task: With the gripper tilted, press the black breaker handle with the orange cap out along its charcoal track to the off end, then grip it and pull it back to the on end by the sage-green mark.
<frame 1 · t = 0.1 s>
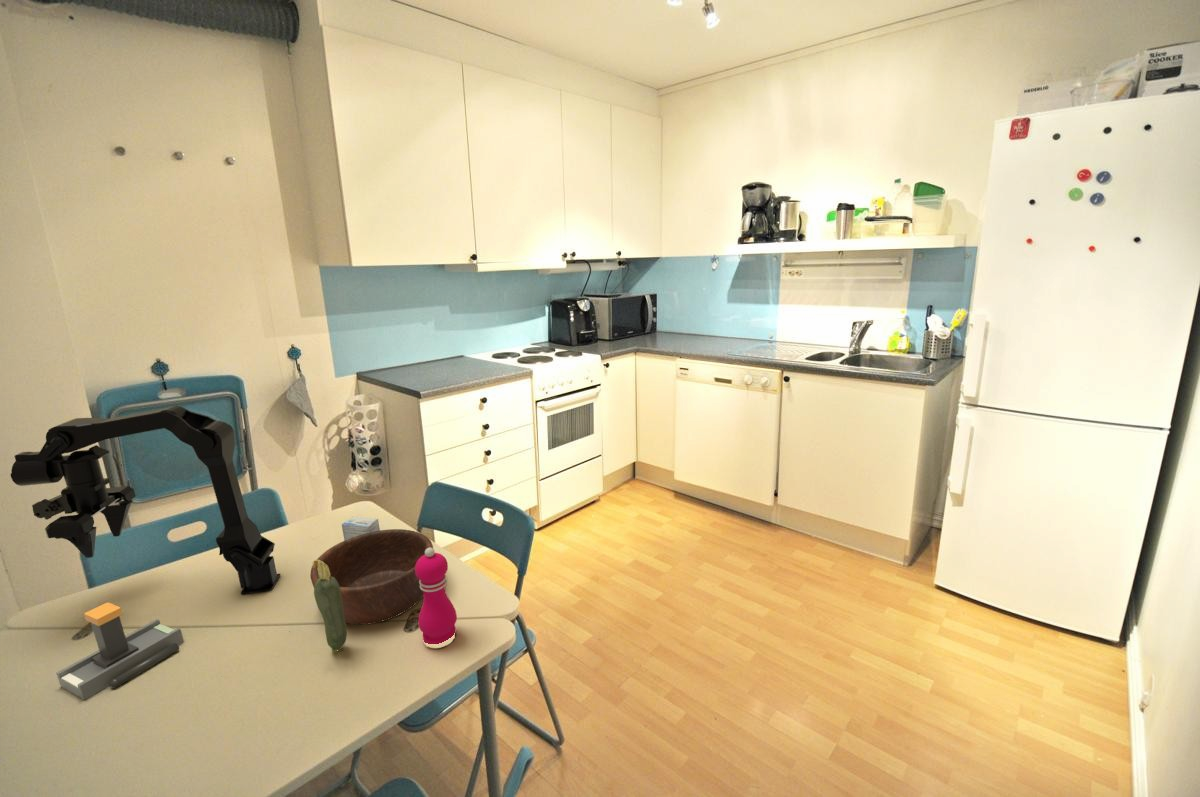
hand: (104, 546, 117), 15 cm above the table, tool pointing down, fingers open, 9 cm apart
vegetable: (338, 653, 104), on the table
pepper mill: (440, 639, 107), on the table
medicine box: (364, 551, 141), on the table
breaker handle: (109, 633, 100), point 7 cm above the table, slide at 0.0 cm
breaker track: (125, 663, 103), on the table
wooden bowl: (379, 597, 122), on the table
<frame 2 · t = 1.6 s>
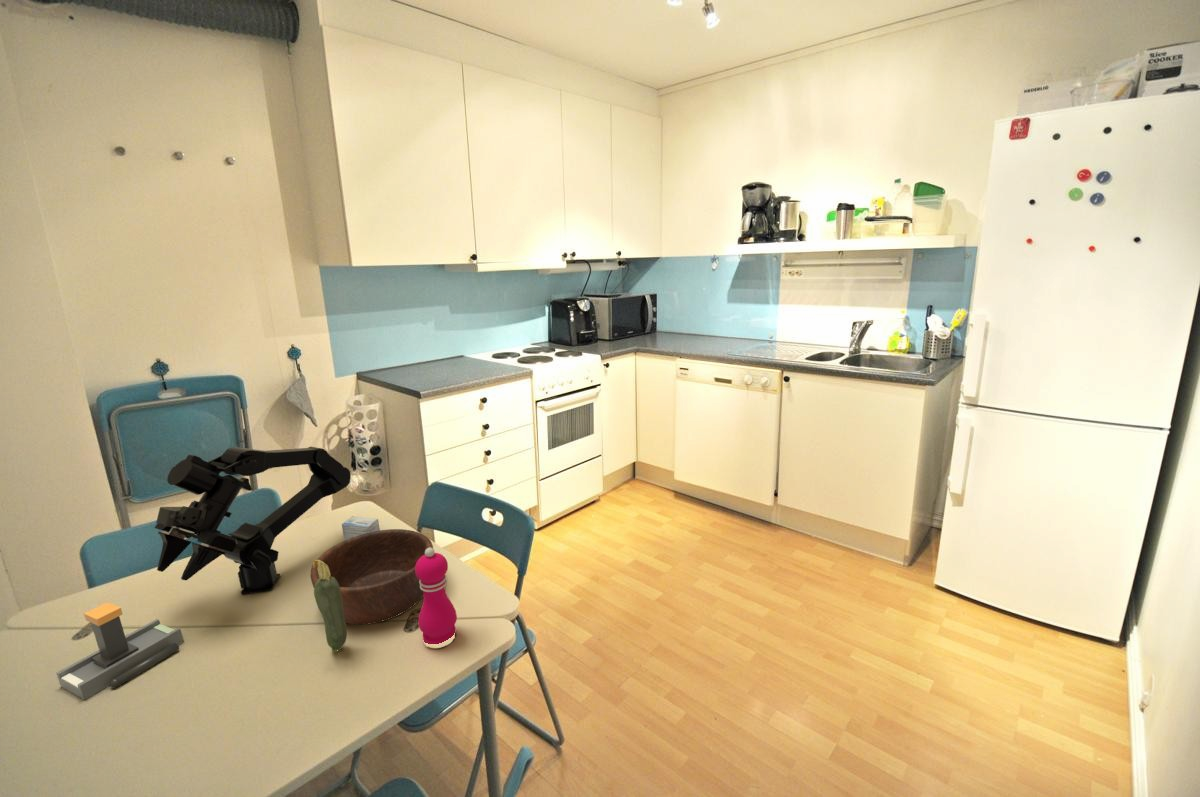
hand: (171, 575, 109), 12 cm above the table, tool tilted 45°, fingers open, 8 cm apart
nothing on the table moved.
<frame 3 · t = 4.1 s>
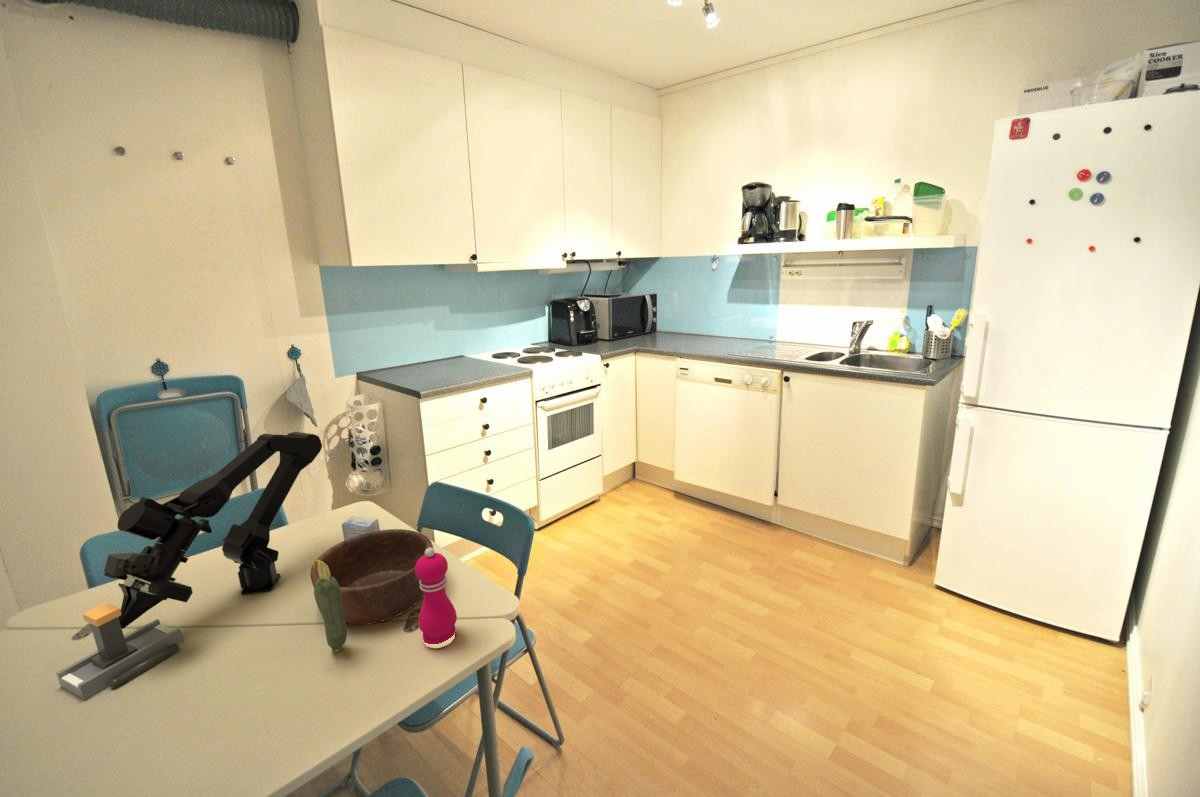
hand: (119, 628, 102), 7 cm above the table, tool tilted 45°, fingers closed, pressing on breaker handle
breaker handle: (108, 634, 100), point 7 cm above the table, slide at 0.2 cm, touching gripper
everything else where it was.
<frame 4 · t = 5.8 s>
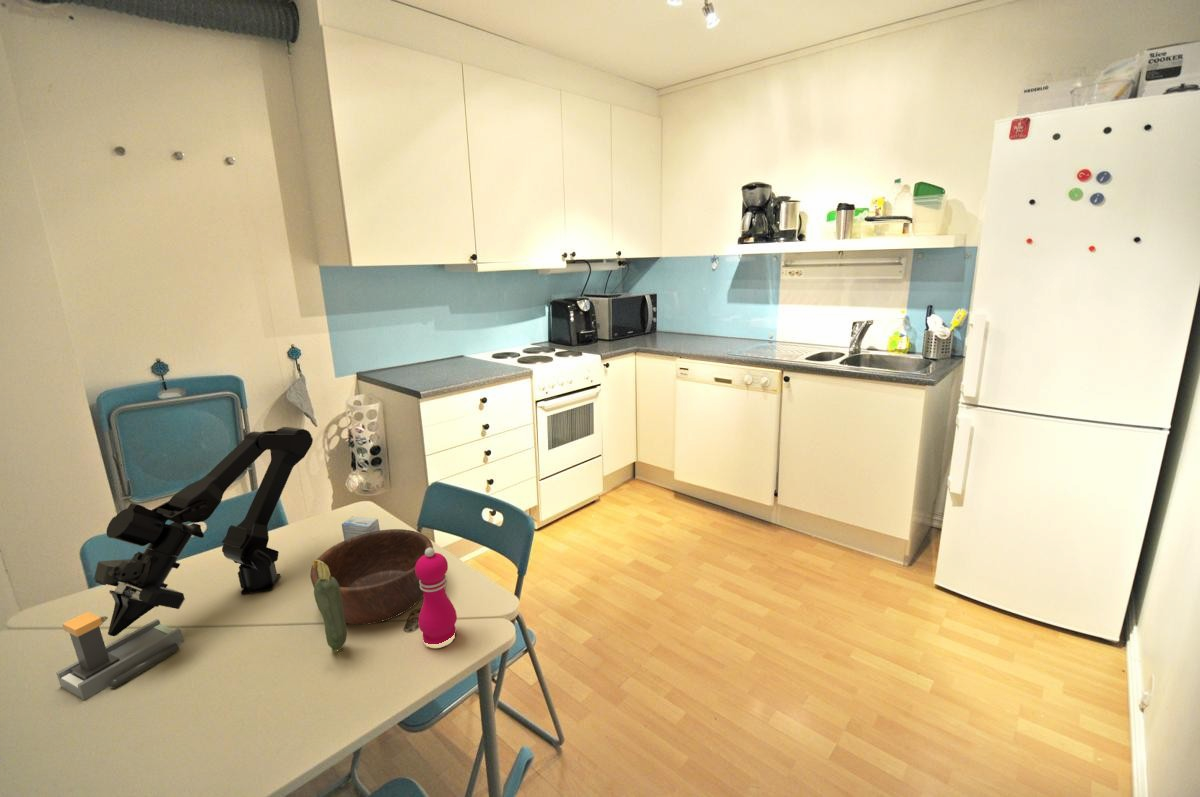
hand: (111, 635, 101), 7 cm above the table, tool tilted 45°, fingers closed
breaker handle: (89, 644, 98), point 7 cm above the table, slide at 3.1 cm
everything else where it was.
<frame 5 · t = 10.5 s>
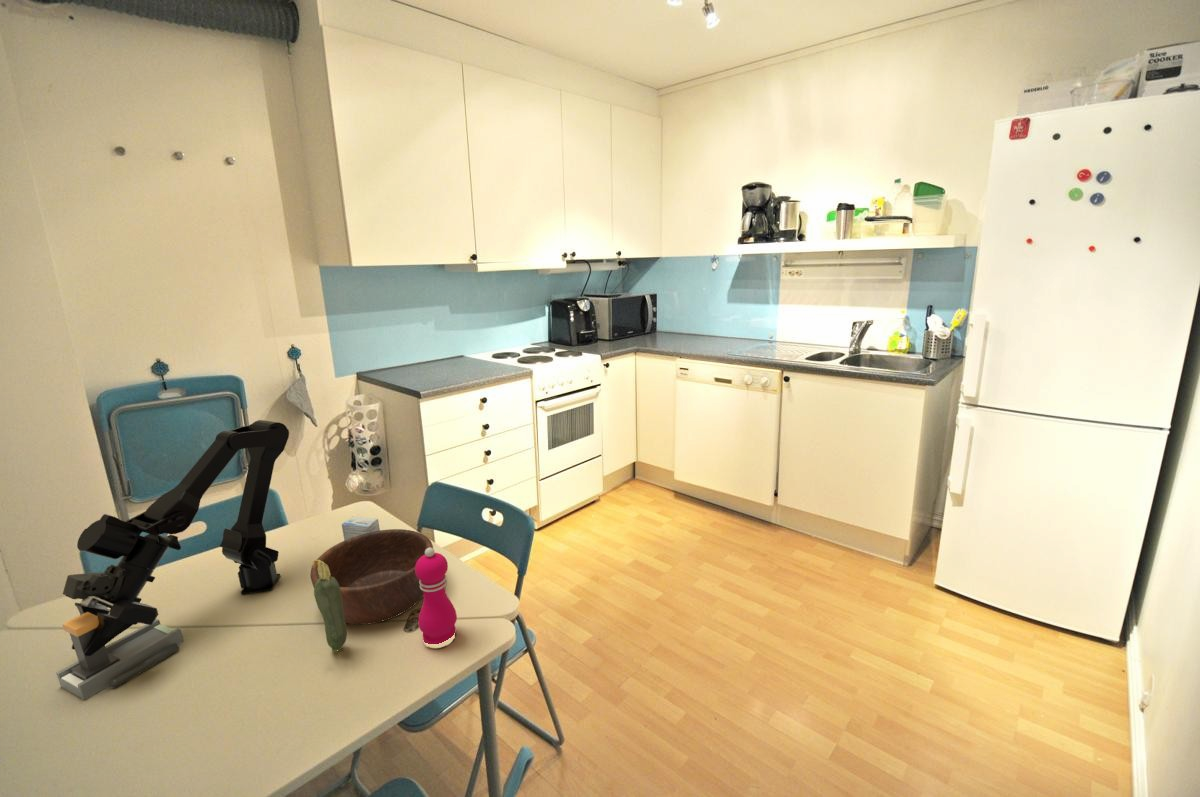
hand: (80, 652, 97), 7 cm above the table, tool tilted 45°, fingers closed on breaker handle, 4 cm apart
breaker handle: (89, 644, 98), point 7 cm above the table, slide at 3.0 cm, touching gripper
everything else where it was.
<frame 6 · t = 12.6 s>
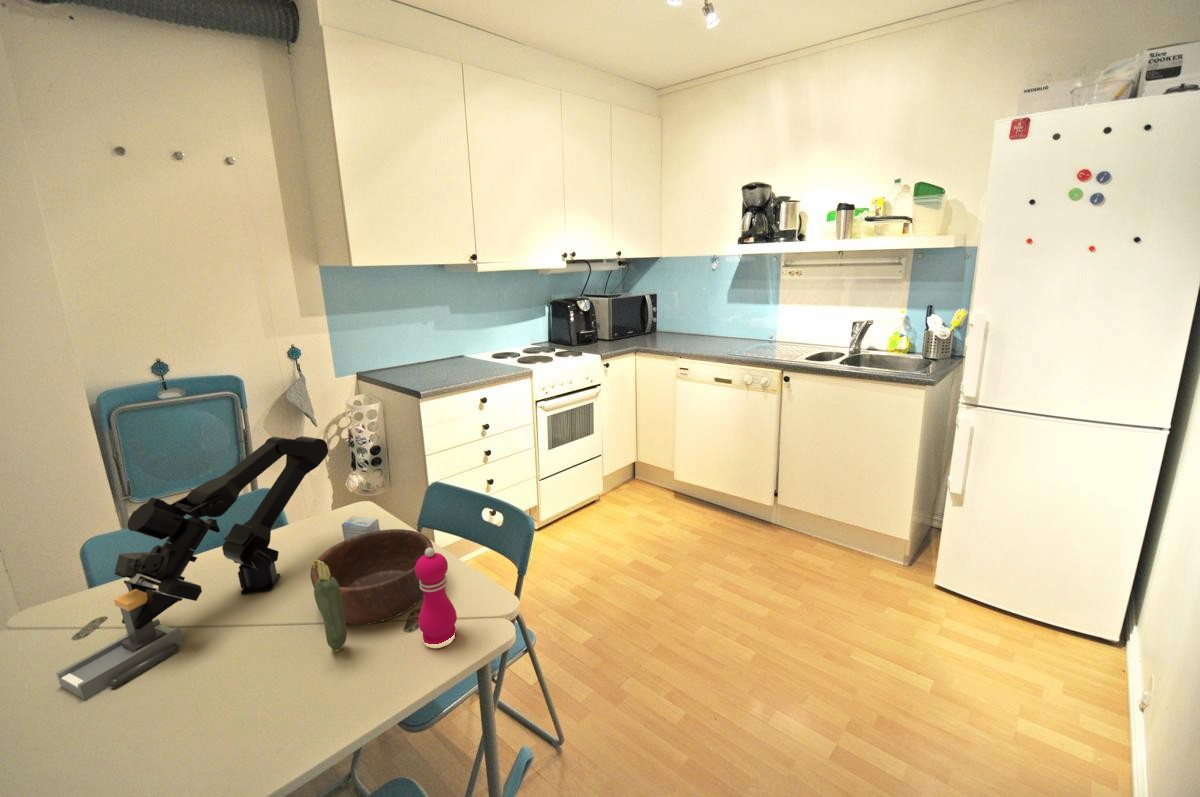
hand: (130, 626, 103), 7 cm above the table, tool tilted 45°, fingers closed on breaker handle, 4 cm apart
breaker handle: (137, 618, 104), point 7 cm above the table, slide at -4.5 cm, touching gripper
everything else where it was.
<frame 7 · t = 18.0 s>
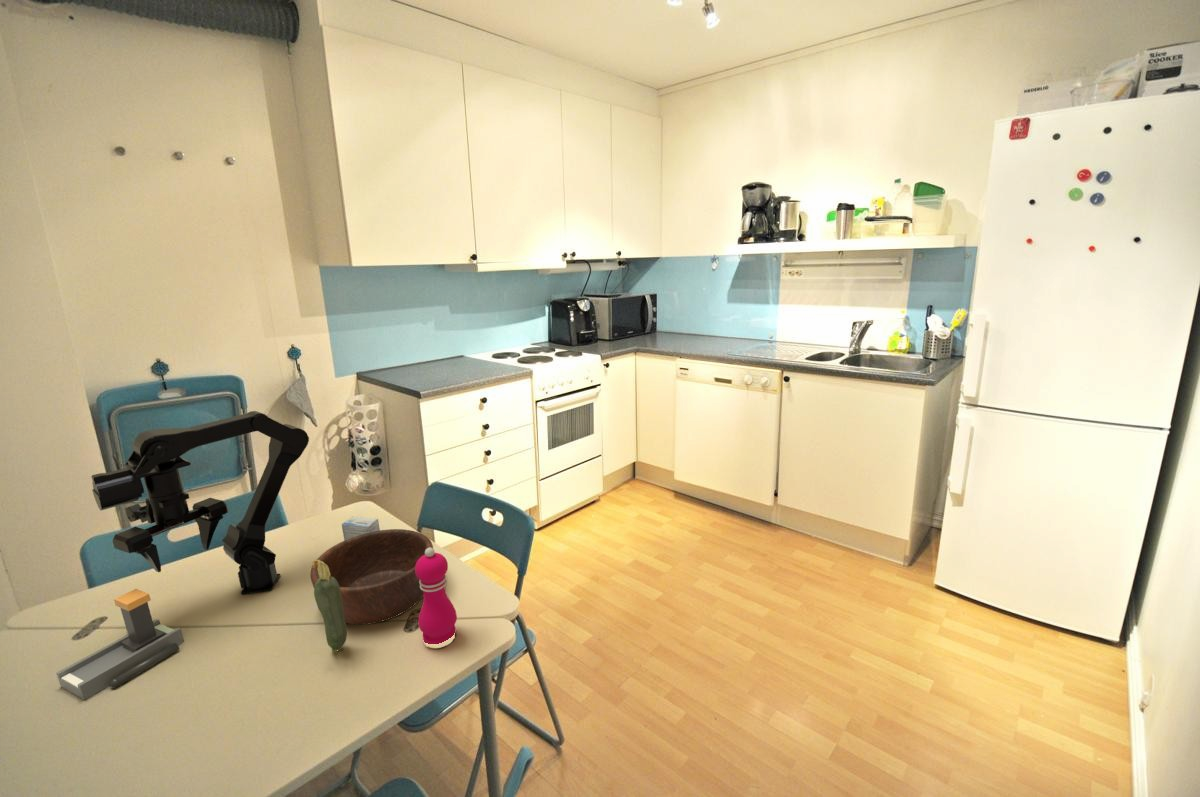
hand: (183, 560, 114), 13 cm above the table, tool pointing down, fingers open, 9 cm apart
breaker handle: (137, 618, 104), point 7 cm above the table, slide at -4.6 cm
everything else where it was.
at the end: breaker handle slide at -4.6 cm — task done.
